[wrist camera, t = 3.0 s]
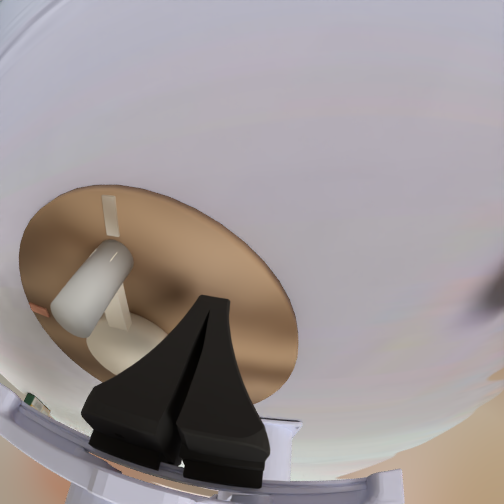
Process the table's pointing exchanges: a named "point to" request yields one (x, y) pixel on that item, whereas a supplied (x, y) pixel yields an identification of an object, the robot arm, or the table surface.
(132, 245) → the dial plate
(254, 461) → the robot arm
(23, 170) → the table surface
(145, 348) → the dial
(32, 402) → the crayon box
